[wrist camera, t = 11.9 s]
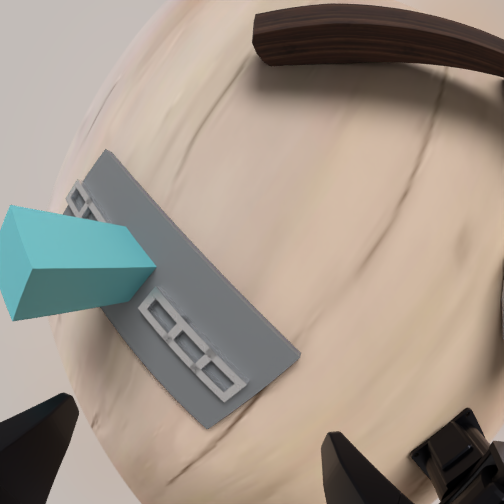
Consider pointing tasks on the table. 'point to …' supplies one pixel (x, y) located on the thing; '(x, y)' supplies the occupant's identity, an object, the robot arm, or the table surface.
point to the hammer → (372, 38)
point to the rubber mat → (185, 302)
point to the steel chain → (175, 312)
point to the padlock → (503, 309)
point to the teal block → (66, 263)
